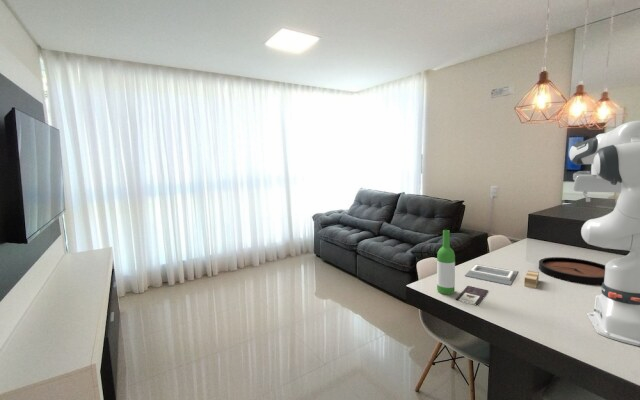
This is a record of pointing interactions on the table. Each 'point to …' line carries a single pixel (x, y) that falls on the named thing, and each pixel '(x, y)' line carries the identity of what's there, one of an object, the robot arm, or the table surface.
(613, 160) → the robot arm
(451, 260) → the wine bottle
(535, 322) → the table surface
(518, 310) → the table surface
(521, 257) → the table surface
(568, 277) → the wall clock
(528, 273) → the tan wooden bar
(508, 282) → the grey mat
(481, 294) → the chocolate bar
